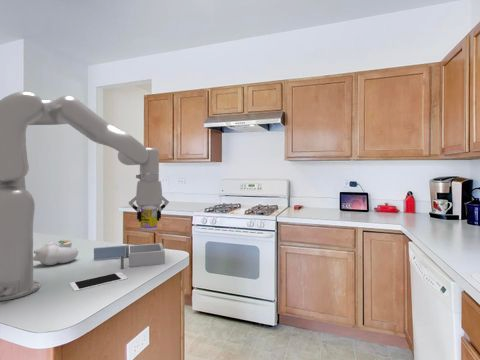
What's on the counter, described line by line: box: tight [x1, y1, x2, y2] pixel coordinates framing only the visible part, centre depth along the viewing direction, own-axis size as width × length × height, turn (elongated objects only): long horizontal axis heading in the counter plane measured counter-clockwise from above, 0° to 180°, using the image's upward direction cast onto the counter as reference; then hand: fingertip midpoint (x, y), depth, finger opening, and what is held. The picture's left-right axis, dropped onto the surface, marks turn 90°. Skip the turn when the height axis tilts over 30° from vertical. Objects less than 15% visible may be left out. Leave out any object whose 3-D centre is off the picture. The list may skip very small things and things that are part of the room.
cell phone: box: [69, 271, 128, 292], centre depth 91 cm, size 8×16×1 cm, turn 132°
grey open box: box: [120, 242, 166, 270], centre depth 112 cm, size 14×16×5 cm
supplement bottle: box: [140, 205, 158, 232], centre depth 113 cm, size 7×7×13 cm
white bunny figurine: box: [33, 239, 79, 266], centre depth 108 cm, size 10×8×15 cm
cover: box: [93, 244, 130, 260], centre depth 115 cm, size 1×13×5 cm, turn 111°
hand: (149, 220), depth 114 cm, fingers closed on supplement bottle, 6 cm apart
